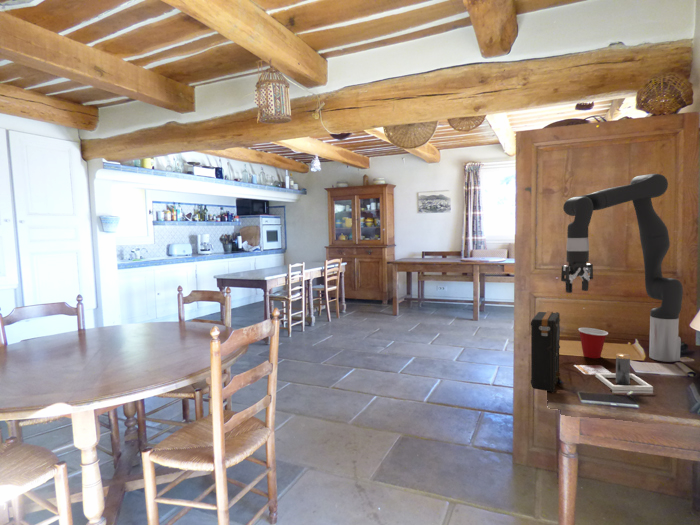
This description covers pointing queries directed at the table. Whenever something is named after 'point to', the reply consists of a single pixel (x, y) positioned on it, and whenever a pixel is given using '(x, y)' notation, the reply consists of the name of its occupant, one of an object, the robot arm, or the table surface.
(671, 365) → the table surface
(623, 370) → the battery cell
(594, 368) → the plate
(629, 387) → the white square tray
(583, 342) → the plastic cup
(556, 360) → the black carrying case
